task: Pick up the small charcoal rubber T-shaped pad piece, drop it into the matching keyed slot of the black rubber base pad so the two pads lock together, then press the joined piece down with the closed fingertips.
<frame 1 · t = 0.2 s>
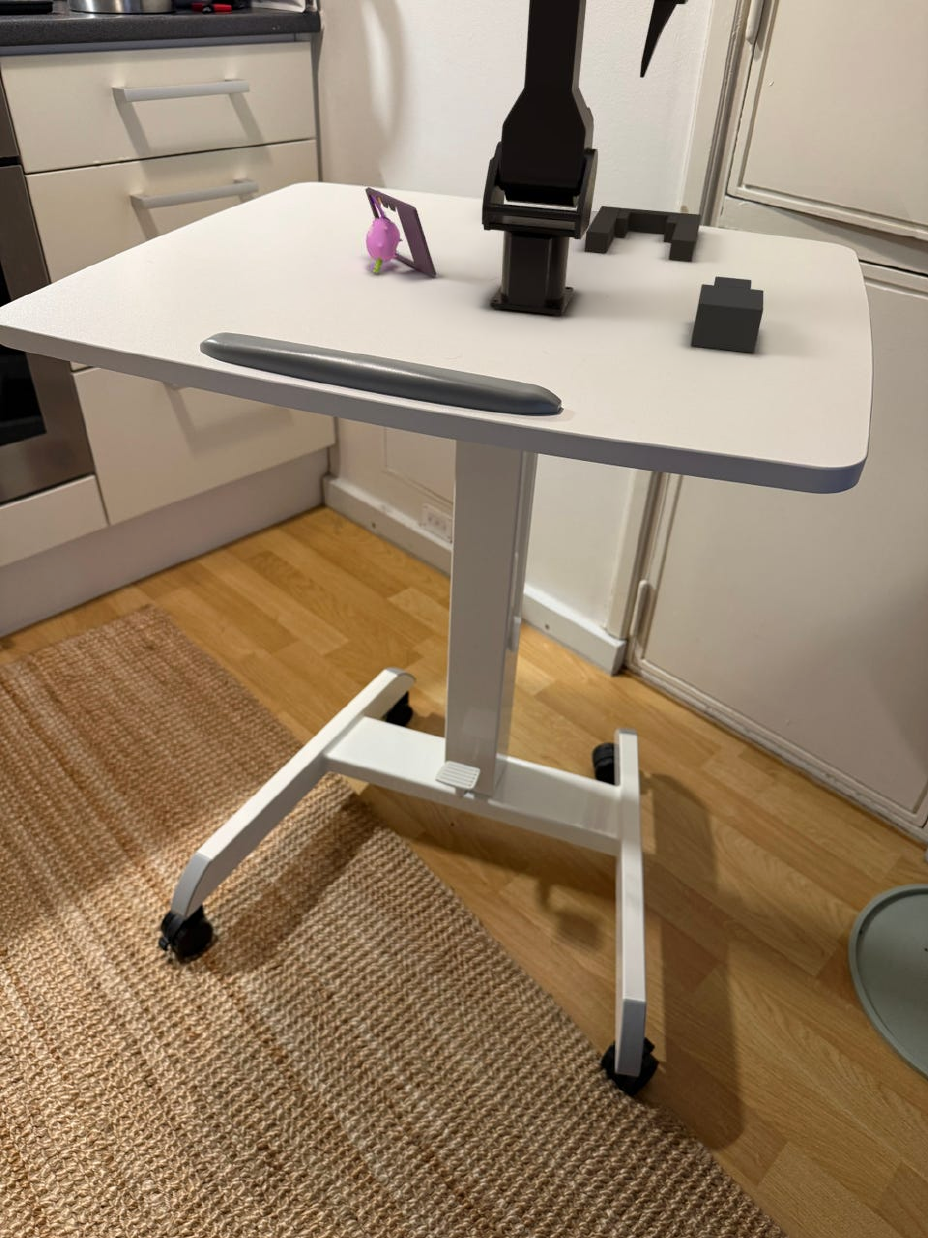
hand: (597, 74, 93), 15 cm above the table, tool pointing down, fingers open, 9 cm apart
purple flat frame: (392, 270, 88), on the table
pad piece: (723, 338, 74), on the table
base pad: (642, 241, 96), on the table
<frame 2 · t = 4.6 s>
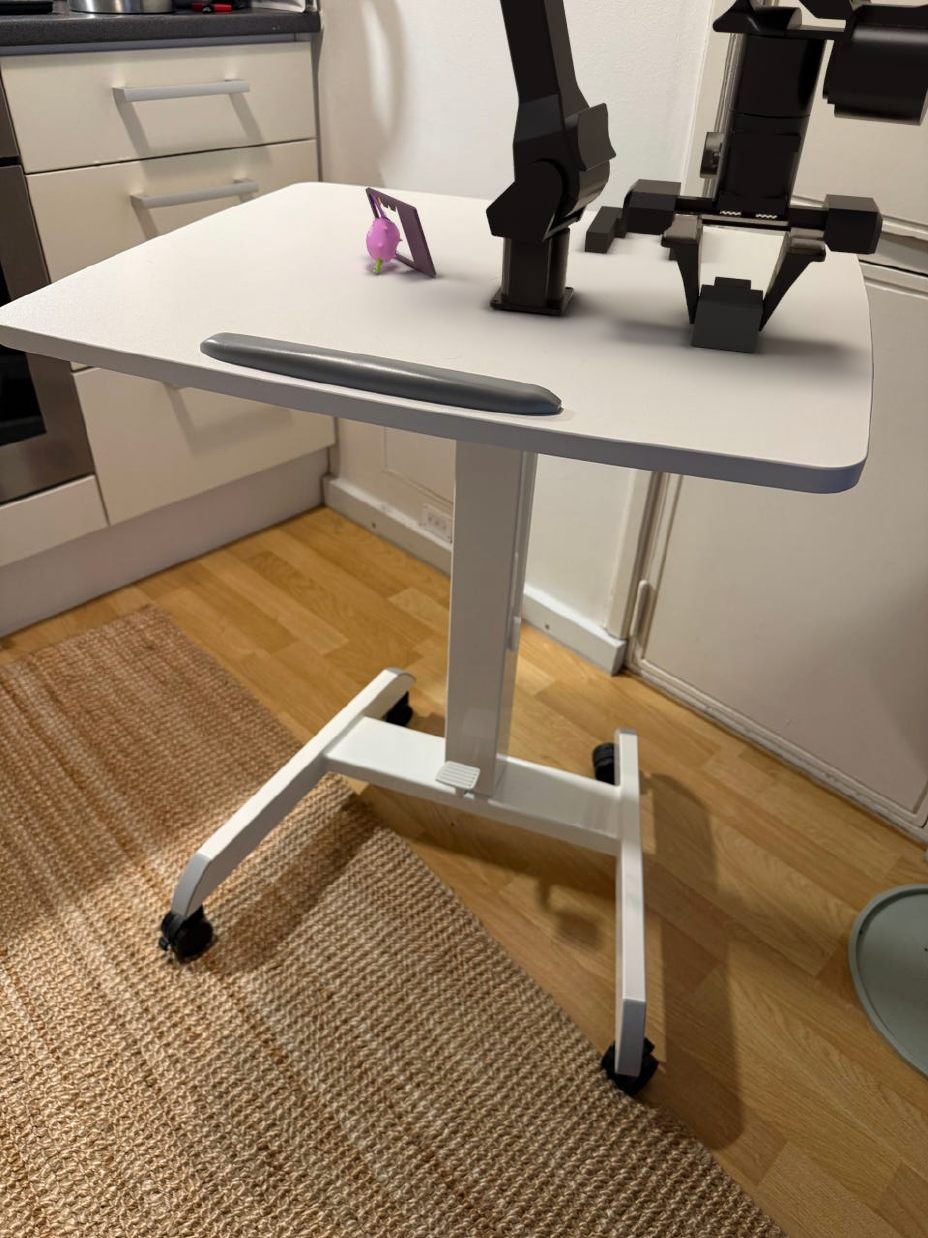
hand: (725, 326, 74), 1 cm above the table, tool pointing down, fingers closed on pad piece, 5 cm apart
pad piece: (722, 338, 74), on the table, touching gripper
everything else where it was.
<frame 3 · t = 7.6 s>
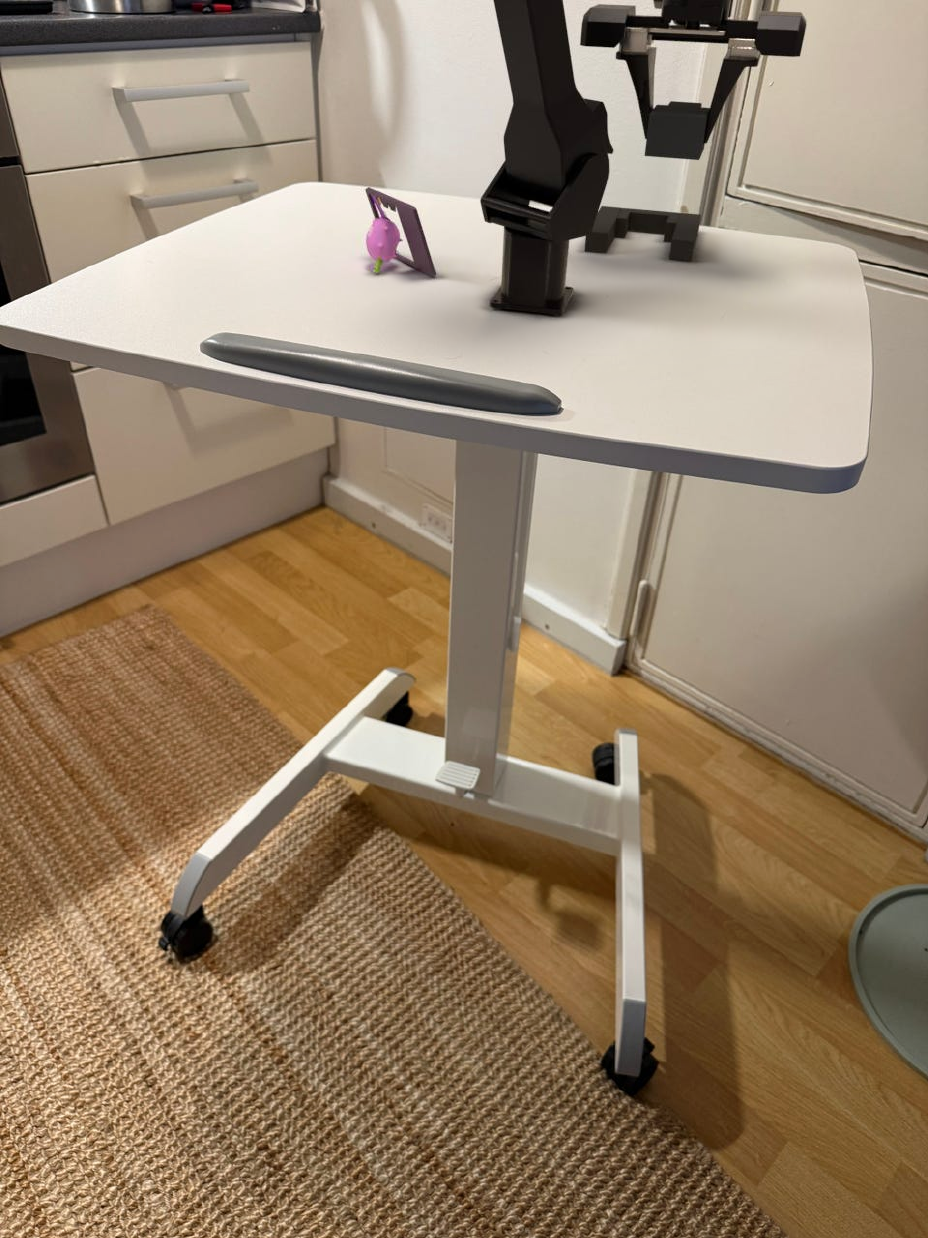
hand: (676, 140, 83), 11 cm above the table, tool pointing down, fingers closed on pad piece, 5 cm apart
pad piece: (674, 152, 84), point 10 cm above the table, touching gripper
everything else where it was.
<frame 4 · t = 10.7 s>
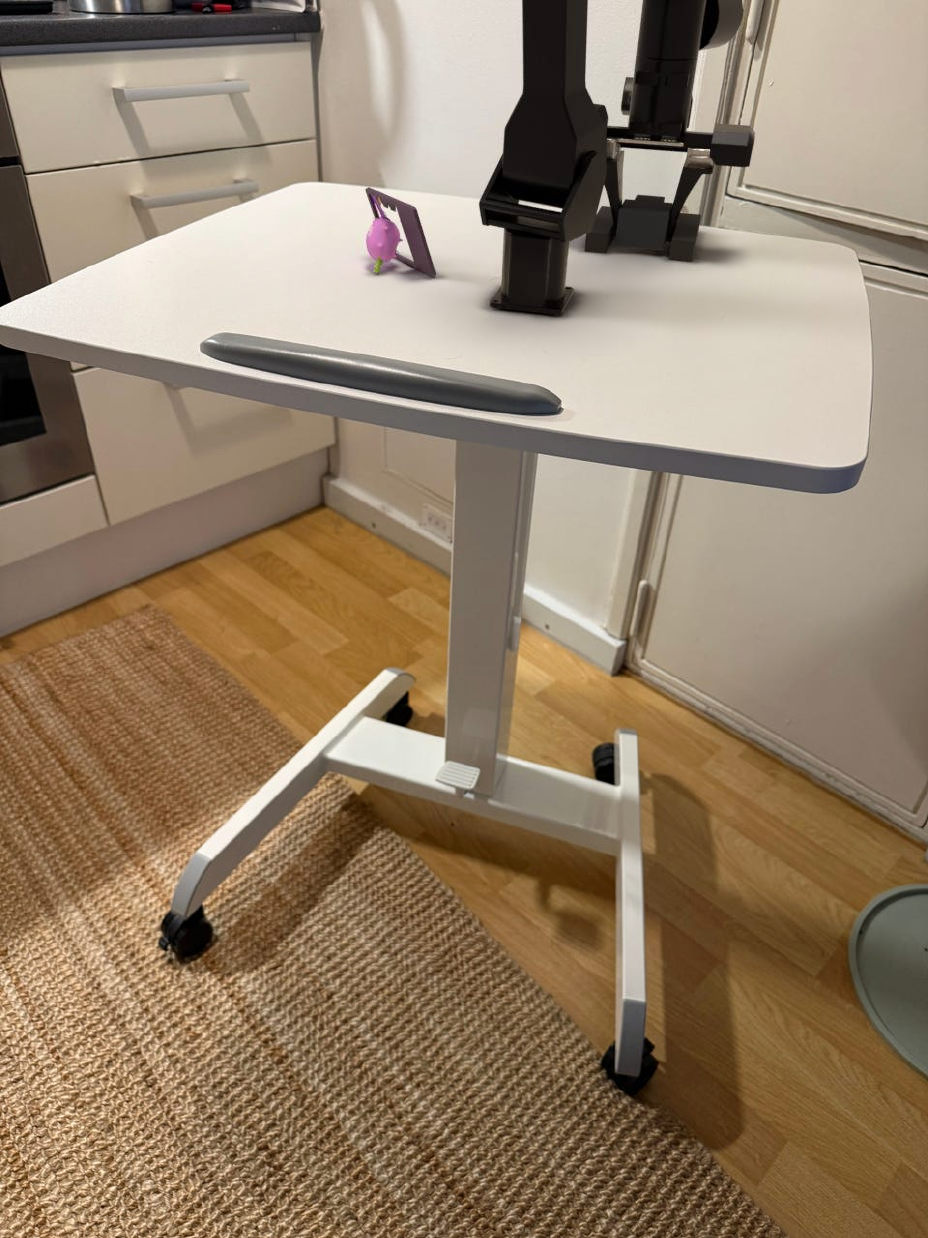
hand: (643, 231, 94), 2 cm above the table, tool pointing down, fingers closed on pad piece, 5 cm apart
pad piece: (641, 241, 94), point 1 cm above the table, touching gripper
everything else where it was.
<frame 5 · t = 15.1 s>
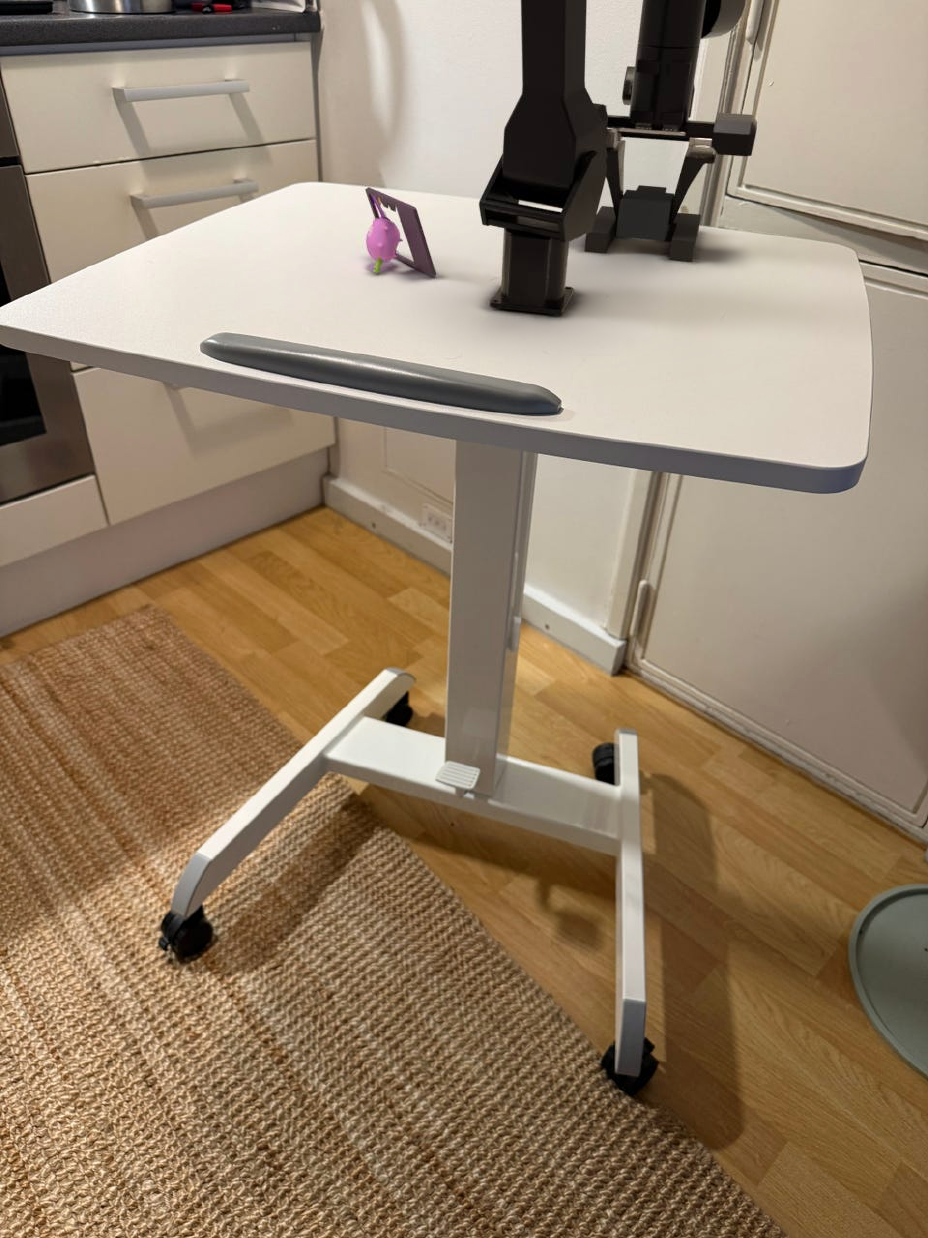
hand: (644, 222, 93), 3 cm above the table, tool pointing down, fingers closed on pad piece, 5 cm apart
pad piece: (642, 232, 94), point 2 cm above the table, touching gripper
everything else where it was.
when the fingers open (3 cm above the table, at t = 19.2 s): pad piece drops 2 cm, resting in base pad.
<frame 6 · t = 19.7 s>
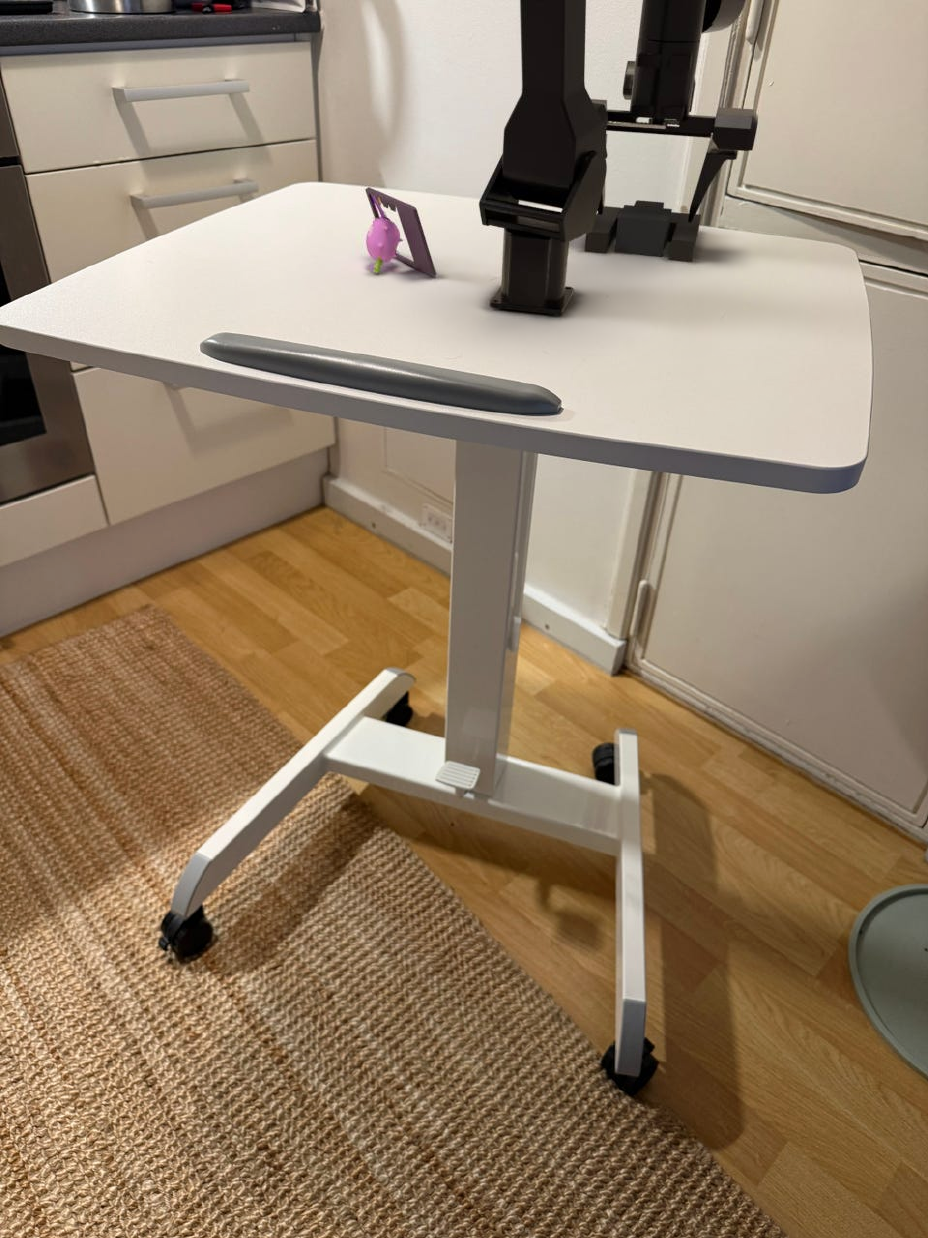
hand: (645, 217, 93), 3 cm above the table, tool pointing down, fingers open, 9 cm apart
pad piece: (640, 247, 95), resting in base pad
everything else where it was.
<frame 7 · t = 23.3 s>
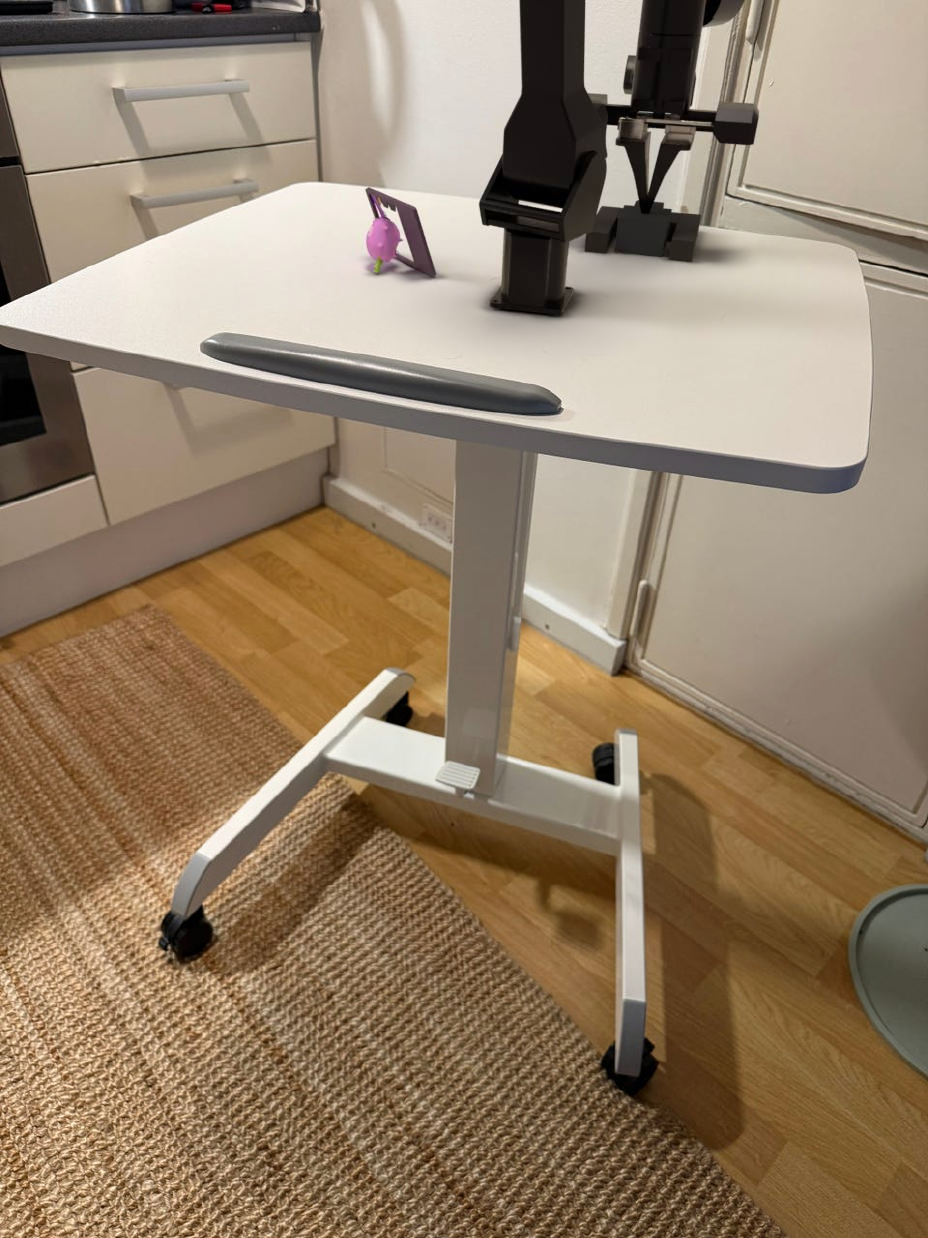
hand: (645, 212, 93), 3 cm above the table, tool pointing down, fingers closed, pressing on pad piece
pad piece: (640, 247, 95), resting in base pad, touching gripper
everything else where it was.
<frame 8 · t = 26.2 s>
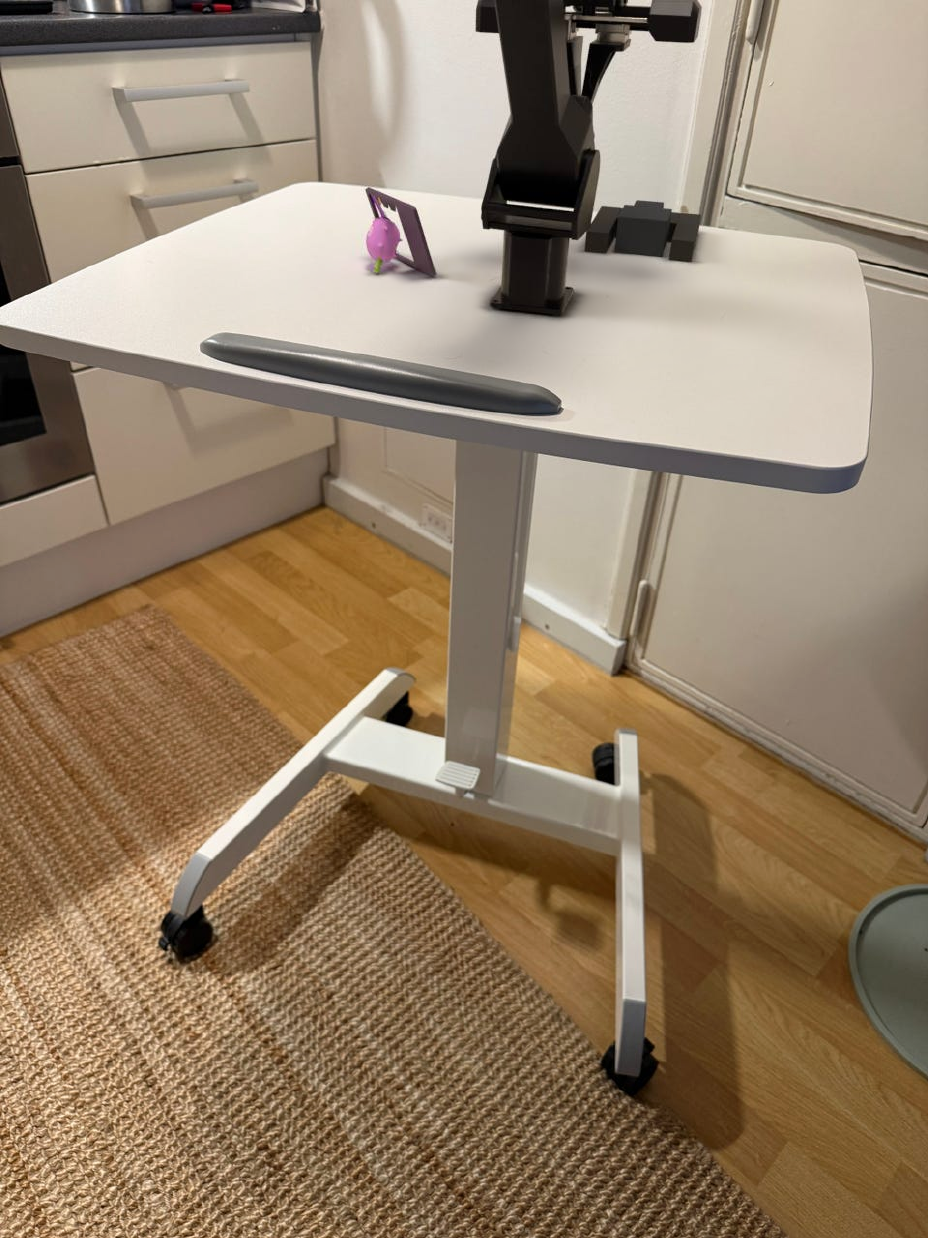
hand: (578, 129, 82), 12 cm above the table, tool pointing down, fingers closed
pad piece: (640, 247, 95), resting in base pad
everything else where it was.
at the end: pad piece 0.5 cm from the target spot on the base pad, point 0.0 cm above the base pad's base; pad piece tilted 0°; the gripper is holding nothing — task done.
